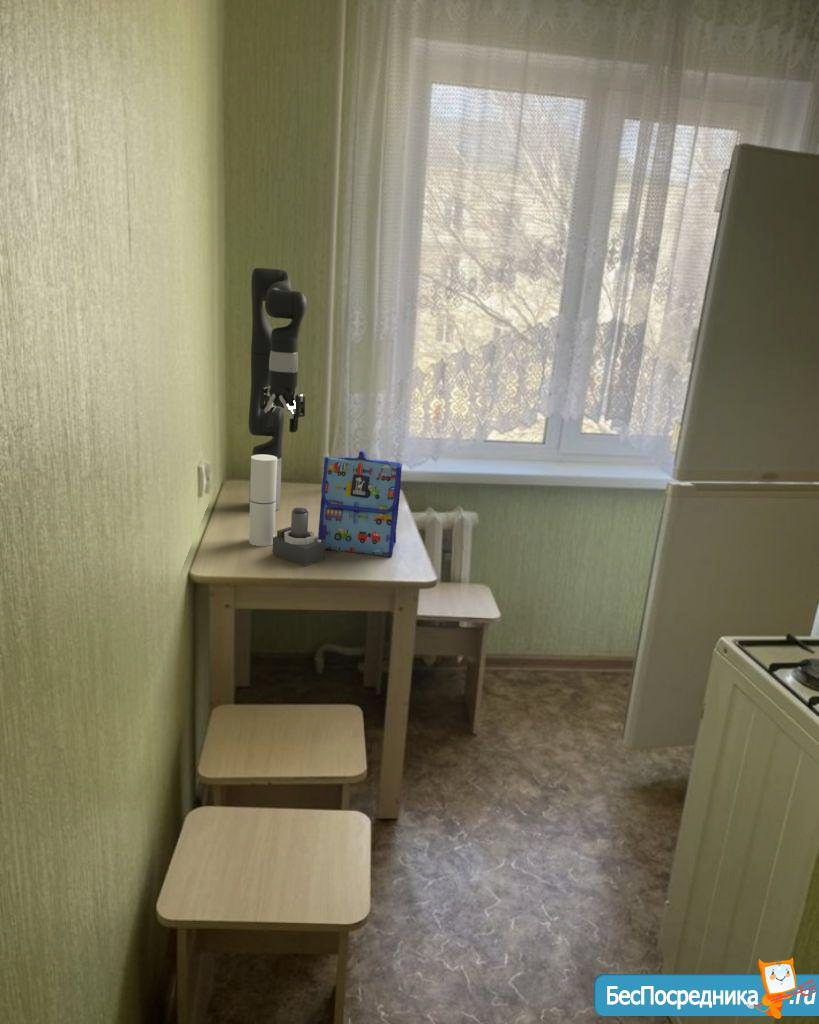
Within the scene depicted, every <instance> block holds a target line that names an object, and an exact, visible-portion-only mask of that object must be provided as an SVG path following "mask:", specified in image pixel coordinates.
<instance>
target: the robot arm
mask: <svg viewBox="0 0 819 1024" xmlns="http://www.w3.org/2000/svg"><path fill="white" fill-rule="evenodd" d="M291 283H292V282H291V278H290V275H289V273H288V272H287V271H286V270H283V269H280V268H279V269H278V268H277V269H275V268H266V267H265V268H264V267H256V268H254V269H253V270H252V273H251V284H250V285H251V289H250V290H251V317H252V318H251V319H252V321H251V322H252V323H251V325H252V326H251V327H252V328H251V343H250V346H251V347H250V397H249V398H250V399H249V410H248V431H249V433H250V434H251V435H252V436H260V437H261V436H262V437H272V438H271V439H270V440H268V441H267V442H264V443H260V444H257V445H255V446H254V447H252V448H253V449H252V456H253V455H259V454H265V455H272V456H276V457H277V479H276V508H275V512H276V511H278V510H280V509H281V508H280V506H281V487H282V482H281V481H282V460H283V459H282V457H283V456H282V455H283V454H282V453H283V435H284V434H283V433H284V424H285V423H284V422H285V416H284V410H283V409H285V412H287V413H288V415H289V428H288V429H289V431H288V432H290V433H296V432H297V431H298V429H299V419H300V418H304V417H305V416H306V395H305V394H304V393H298V394H297V392H296V388H298V387H297V386H298V375H299V372H298V371H299V370H298V369H299V358H298V357H299V355H298V352H299V351H298V349H299V336H300V330H301V325H302V322H303V319H304V317H305V314H306V310H307V306H308V305H307V304H308V303H307V298H306V296H305V294H304V293H303V292H301V291H297V290H292V284H291ZM263 302H264V304H263ZM263 305H264V306H263ZM264 309H265V310H264ZM265 312H266V313H265ZM266 314H267V315H268V316H269V317H271V318H275V319H286V320H290V323H288V325H285V326H281V327H275V328H273V327H272V326H271V324H270V321H269V320H268V317H267V315H266ZM250 483H251V477H250V478H249V484H250ZM248 506H249V507H250V488H249V497H248Z"/></svg>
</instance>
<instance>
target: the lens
mask: <svg viewBox="0 0 819 1024" xmlns="http://www.w3.org/2000/svg"><path fill="white" fill-rule="evenodd" d="M290 518H291V521H290V522H291V523H290V527H291V537H293V538H307V531H309V530H308V528H309V527H308V526H309V525H308V524H309V511H308V510H307V508H304V507H294V508H293V509H292V510H291V517H290Z"/></svg>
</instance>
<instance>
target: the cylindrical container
mask: <svg viewBox="0 0 819 1024" xmlns="http://www.w3.org/2000/svg"><path fill="white" fill-rule="evenodd" d="M250 478H251V483H250V482H249V489H250V506H249V526H248V528H249V531H248V536H249V537H248V539H249V540H248V543H249V544H250V545H252V546H255V545H256V546H257V547H270V546H273V537H276V536H275V532H276V511H275V508H276V479H277V457H276V456H272V455H265V454H259V455H253V454H252V455H251V457H250ZM269 545H270V546H269ZM256 546H255V547H256Z"/></svg>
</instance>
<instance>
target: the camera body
mask: <svg viewBox="0 0 819 1024" xmlns="http://www.w3.org/2000/svg"><path fill="white" fill-rule="evenodd" d="M271 553H272V554H271V555H273V556H275V557H278V558H282V559H284V560H286V561H290V562H292V563H295V564H298V565H301V566H303V567H306V566H309V565H312V564H315V563H317V562H319V561H323V560H325V557H326V556H325V554H326V549H325V542H324V541H321V540H320V539H318V538H315V533H314V532H313V531H309V530H307V538H293V537H291V526H288V527H285V528H282V529H278V530H277V531H276V536H274V537H273V544H272V551H271Z"/></svg>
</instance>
